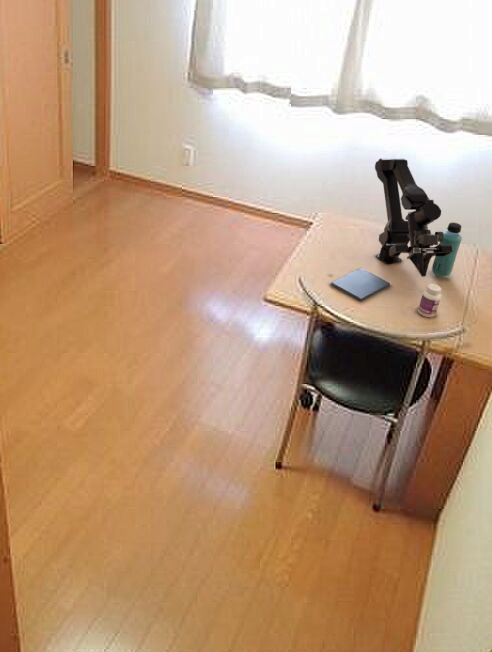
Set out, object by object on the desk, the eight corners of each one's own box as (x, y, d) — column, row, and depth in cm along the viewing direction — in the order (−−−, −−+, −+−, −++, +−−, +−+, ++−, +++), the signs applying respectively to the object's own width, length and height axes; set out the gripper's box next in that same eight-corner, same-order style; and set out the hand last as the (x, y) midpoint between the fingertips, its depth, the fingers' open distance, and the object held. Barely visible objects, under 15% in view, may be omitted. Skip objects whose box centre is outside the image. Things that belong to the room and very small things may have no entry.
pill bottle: (433, 319, 203) (441, 294, 198) (415, 314, 205) (423, 288, 200) (436, 311, 207) (445, 286, 202) (419, 306, 209) (427, 280, 204)
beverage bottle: (452, 275, 226) (469, 224, 215) (445, 282, 221) (461, 231, 211) (434, 268, 229) (449, 217, 219) (426, 275, 225) (441, 224, 215)
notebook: (360, 270, 227) (360, 267, 226) (389, 286, 219) (390, 283, 218) (330, 285, 218) (331, 282, 218) (360, 301, 210) (361, 298, 210)
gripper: (400, 221, 203) (406, 270, 200) (459, 222, 204) (465, 270, 200) (386, 231, 214) (391, 278, 210) (441, 232, 215) (447, 278, 211)
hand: (423, 276), depth 208 cm, fingers closed
